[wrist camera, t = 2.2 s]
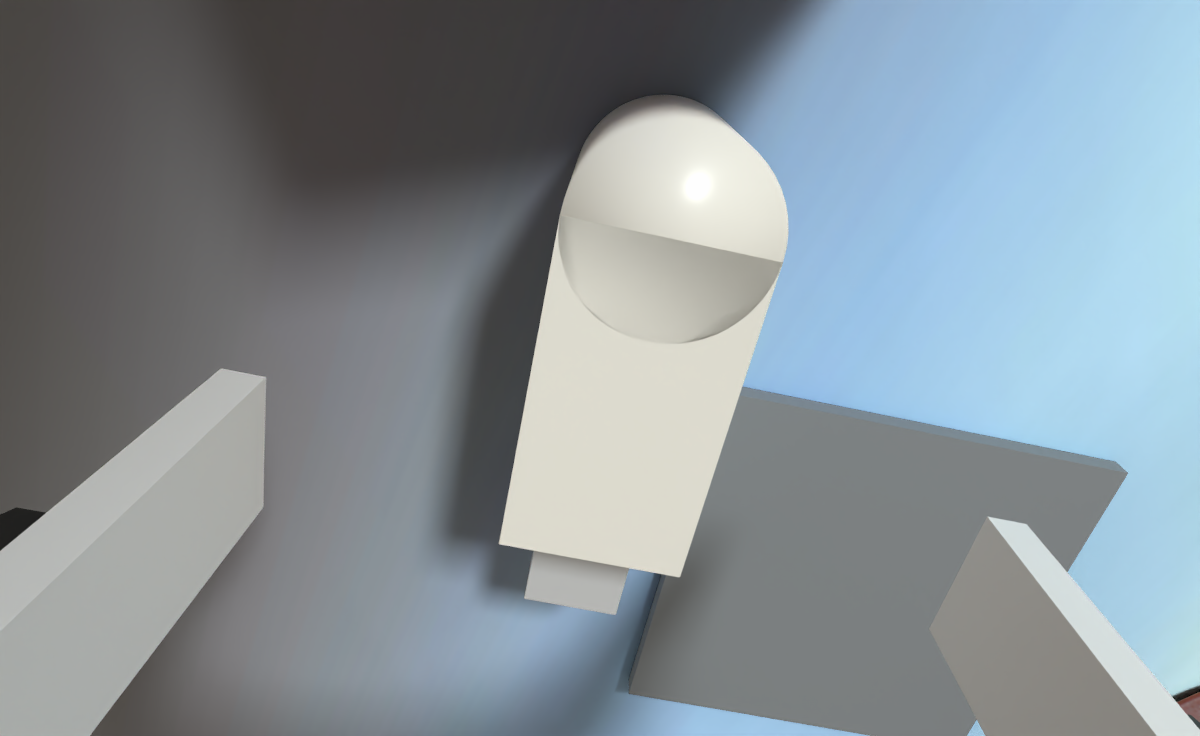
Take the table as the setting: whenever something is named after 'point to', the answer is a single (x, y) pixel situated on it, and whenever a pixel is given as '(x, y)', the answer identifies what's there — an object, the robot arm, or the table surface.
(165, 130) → the table surface
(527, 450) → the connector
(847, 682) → the coaster
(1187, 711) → the flower pot
